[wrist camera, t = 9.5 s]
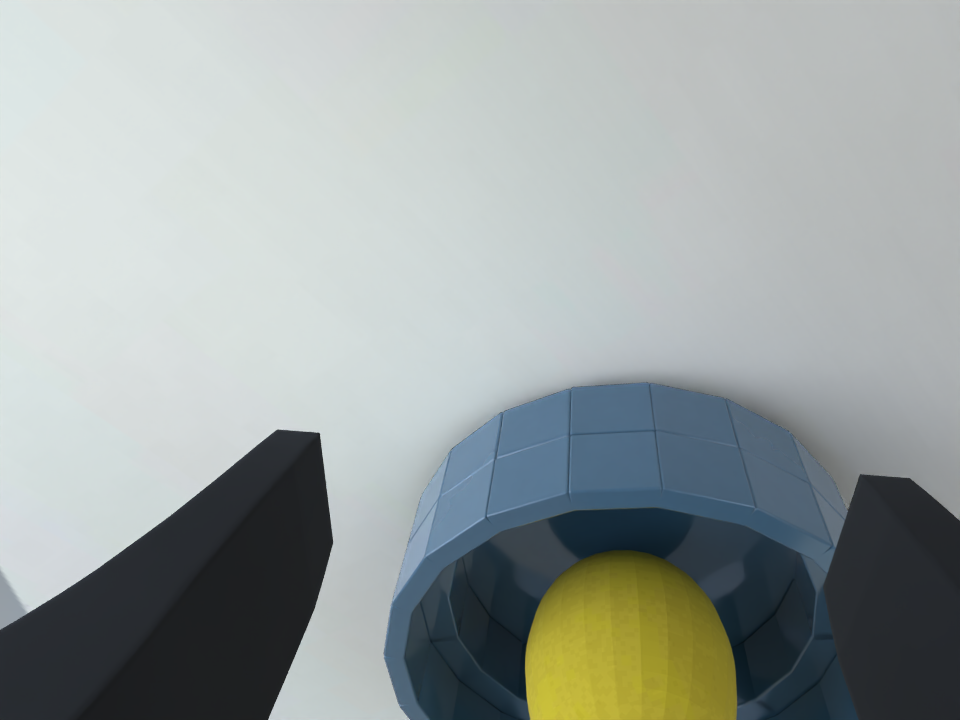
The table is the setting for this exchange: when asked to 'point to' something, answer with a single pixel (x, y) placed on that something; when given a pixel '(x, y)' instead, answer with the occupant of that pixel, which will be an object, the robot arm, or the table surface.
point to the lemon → (628, 645)
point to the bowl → (619, 545)
